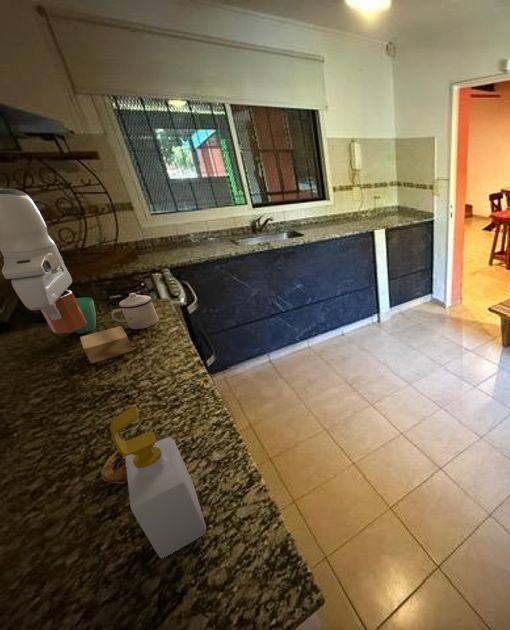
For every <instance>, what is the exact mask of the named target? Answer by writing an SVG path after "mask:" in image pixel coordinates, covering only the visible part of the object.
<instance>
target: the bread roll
mask: <svg viewBox="0 0 510 630" xmlns="http://www.w3.org/2000/svg"><path fill="white" fill-rule="evenodd" d="M155 438H156V442H158V441H161V440H163V439H164V437H161V436H159V435H156V434H155ZM125 458H126V456H122V455H121V454H120V453H119V451H118V449H117V450H116V451H115V452H114V453H113V454H112V455H111V456H110V457H109V458H108V459H107V460H106V462H105V464H104V466H103V467H102V469H101V472H100V474H101V477H102V480H103V481H104V482H108V483H110V484H115V485H117V484H118V485H119V484H120V485H121V484H122V485H123V484H128V479H127V470H126V460H125Z"/></svg>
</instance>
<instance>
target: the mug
mask: <svg viewBox="0 0 510 630" xmlns="http://www.w3.org/2000/svg"><path fill="white" fill-rule="evenodd" d="M75 299H76V301H77V303H78V305H79V307H80V309H81V311H82V313H83V315H84V317H85V320H86V322H87V324H86V325H85V326H84V327H82V328H80V329H77V330H74V331H73V332H76V333H77V334H83V333H90V332H91V331H94V330H95V329H96V326H97V325H96V323H97V317H96V316H97V315H96V307H95V302H94V300H93V298H91V297H77V298H76V297H75Z"/></svg>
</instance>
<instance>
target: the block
mask: <svg viewBox="0 0 510 630" xmlns="http://www.w3.org/2000/svg"><path fill="white" fill-rule="evenodd" d="M79 339H80V342H81V345H82V348H83V351H84V353H85V355H86V357H87V359H88V361H89V363H90V364H95V363H98V362H101V361H105V360H108V359H110V358H114V357H117V356H120V355H124V354H127V353H130V352H133V351H134V348H133V346H132V343H131V342H130V339H129V337H128V335H127V333H126V332H125V330H124V328H123V326H122V325H119V326H115V327H111V328H108V329H104V330H101V331H96V332H93V333H89V334H85V335H82V336H80V337H79Z"/></svg>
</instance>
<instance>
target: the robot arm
mask: <svg viewBox="0 0 510 630" xmlns="http://www.w3.org/2000/svg"><path fill="white" fill-rule="evenodd" d="M0 252H1V254H2V256H3V266H2V268H1V274H2V276H3V277H4V279H6V280H11V281H10V282H11V286H12V288H13V290H14V291H15V293H16V294H17V296H18V298H19V299H20V301H21V302H22V304H23V305H24V307H26V308H27V309H28V310H29V311H41V309H43V310H44V311H45V312H46V313H47V314H49V316H50V318H51V319H52V320H57V319H60V318H61V317H62V314H61V311H60V310H58V309H57V308H56V304H55V302H56V301H57V299H58V298H59V297H60V296H61V295H62V294H63V292H64V291H65V290H68V288H69V287H70V286H71V285H72V284H73V278H72V276H71V274H70V272H69V270H68V269H67V266H66V265H65V261H64V260H63V257H62V255H61V254H60V251H59V249H58V247H57V245H56V243H55V241H54V239H52V238H51V237H50V235H49V233H48V226H47V224H46V222H45V220H44V218H43V216H42V214H41V212H40V210H39V208H38V207H37V206H36V204H35V203H34V201H33V199H32V198H31V197H30V196H29V195H28V194H27V193H26V192H24V191H22V190H19V189H17V188H12V187H5V186H0Z"/></svg>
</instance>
